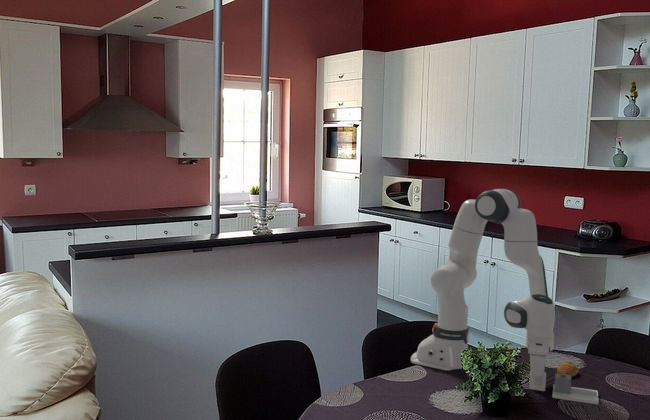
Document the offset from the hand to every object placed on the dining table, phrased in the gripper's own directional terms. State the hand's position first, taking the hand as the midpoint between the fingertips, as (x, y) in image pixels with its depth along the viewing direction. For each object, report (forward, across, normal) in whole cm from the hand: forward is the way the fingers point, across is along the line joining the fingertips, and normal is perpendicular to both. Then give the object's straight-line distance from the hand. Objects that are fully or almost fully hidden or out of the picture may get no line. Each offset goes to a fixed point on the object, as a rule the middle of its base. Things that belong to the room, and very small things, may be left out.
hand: (537, 382), depth 212 cm
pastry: (+3, -19, +9) cm, 21 cm away
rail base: (+2, +2, +12) cm, 12 cm away
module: (+2, 0, 0) cm, 2 cm away
